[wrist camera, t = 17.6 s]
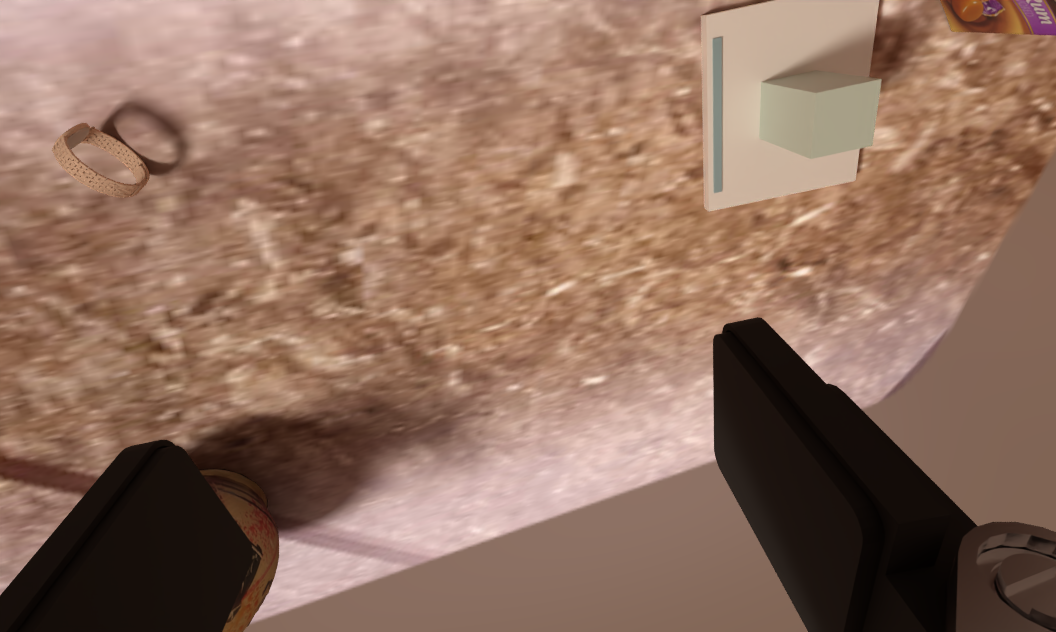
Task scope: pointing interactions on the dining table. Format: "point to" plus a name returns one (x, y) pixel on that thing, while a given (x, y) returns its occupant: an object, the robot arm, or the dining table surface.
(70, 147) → the perforated watch strap
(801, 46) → the pad
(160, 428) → the dining table surface
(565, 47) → the dining table surface
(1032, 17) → the candy box
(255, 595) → the ceramic jug
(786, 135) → the brick
